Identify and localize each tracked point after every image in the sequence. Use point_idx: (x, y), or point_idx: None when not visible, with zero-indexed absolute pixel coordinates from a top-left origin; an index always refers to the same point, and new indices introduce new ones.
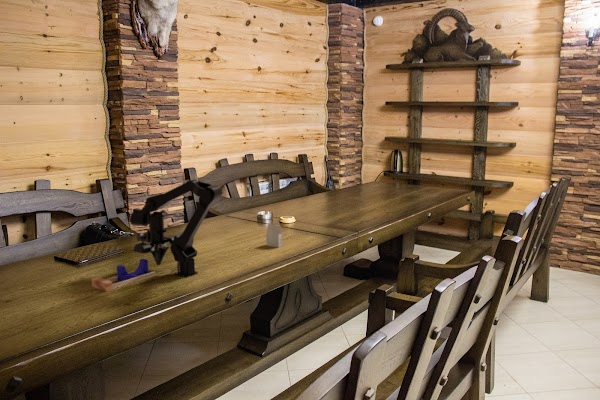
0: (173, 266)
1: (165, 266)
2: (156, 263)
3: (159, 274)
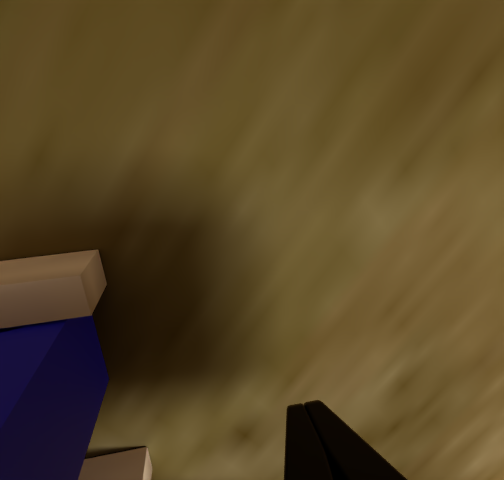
0: (489, 316)
1: (449, 253)
2: (286, 428)
3: (203, 454)
